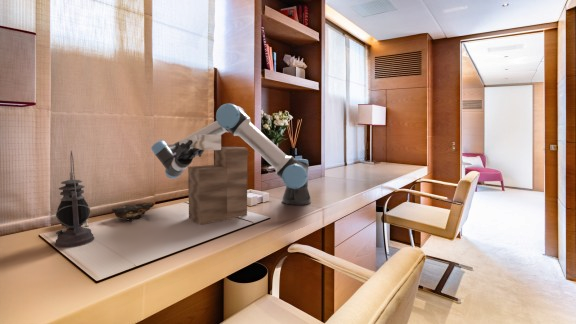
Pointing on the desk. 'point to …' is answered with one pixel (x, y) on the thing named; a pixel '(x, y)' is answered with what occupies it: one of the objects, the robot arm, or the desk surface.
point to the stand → (219, 187)
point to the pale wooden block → (208, 142)
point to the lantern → (73, 214)
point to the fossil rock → (132, 211)
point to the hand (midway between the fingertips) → (200, 137)
